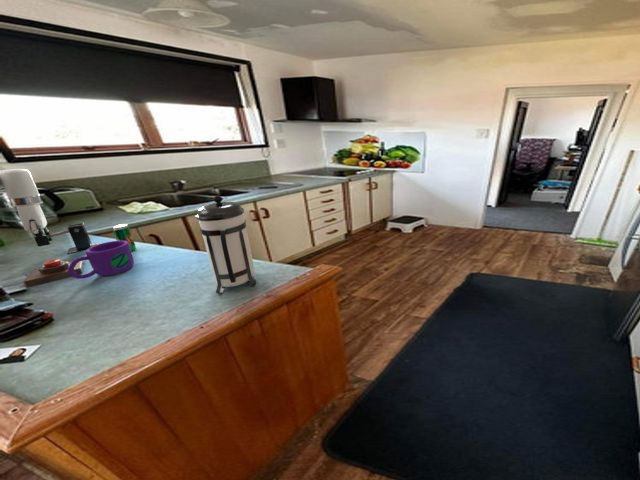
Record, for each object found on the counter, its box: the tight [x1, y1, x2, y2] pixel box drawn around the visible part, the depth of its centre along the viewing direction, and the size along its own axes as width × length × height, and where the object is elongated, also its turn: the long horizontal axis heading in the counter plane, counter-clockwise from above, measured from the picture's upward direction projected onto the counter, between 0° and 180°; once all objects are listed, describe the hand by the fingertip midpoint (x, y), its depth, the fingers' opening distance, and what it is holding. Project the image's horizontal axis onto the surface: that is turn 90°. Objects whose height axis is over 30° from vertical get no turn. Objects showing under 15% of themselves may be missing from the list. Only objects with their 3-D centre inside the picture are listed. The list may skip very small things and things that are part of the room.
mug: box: [68, 240, 135, 280], centre depth 97 cm, size 17×11×10 cm, turn 160°
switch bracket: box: [67, 222, 102, 255], centre depth 119 cm, size 10×8×12 cm
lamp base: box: [24, 260, 85, 288], centre depth 99 cm, size 13×11×4 cm
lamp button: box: [43, 258, 62, 268], centre depth 98 cm, size 4×4×2 cm
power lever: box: [47, 229, 70, 238], centre depth 115 cm, size 12×5×2 cm, turn 134°
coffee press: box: [195, 195, 257, 295], centre depth 85 cm, size 17×16×30 cm
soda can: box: [112, 223, 137, 253], centre depth 116 cm, size 5×5×12 cm
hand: (45, 243), depth 113 cm, fingers closed on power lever, 5 cm apart
